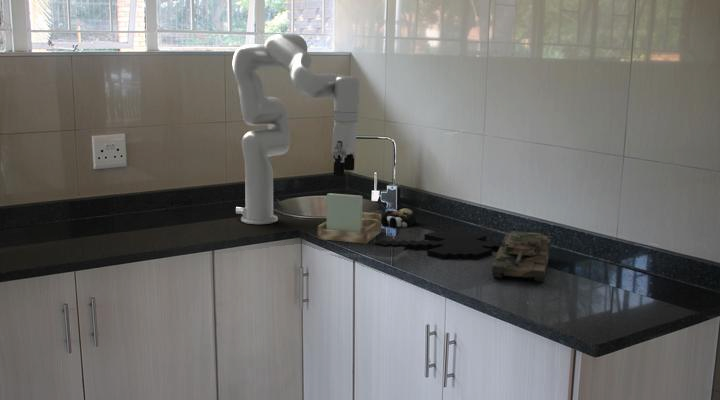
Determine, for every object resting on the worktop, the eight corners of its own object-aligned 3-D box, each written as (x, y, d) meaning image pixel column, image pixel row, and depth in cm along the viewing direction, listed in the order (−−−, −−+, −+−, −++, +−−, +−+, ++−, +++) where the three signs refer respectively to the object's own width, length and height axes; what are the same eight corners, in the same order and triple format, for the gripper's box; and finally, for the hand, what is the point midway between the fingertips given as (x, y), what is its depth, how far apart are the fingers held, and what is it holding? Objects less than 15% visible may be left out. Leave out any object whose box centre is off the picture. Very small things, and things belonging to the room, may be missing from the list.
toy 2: (487, 290, 210) (489, 252, 208) (504, 254, 245) (506, 222, 243) (540, 295, 206) (543, 257, 204) (549, 258, 241) (552, 225, 239)
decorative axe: (438, 225, 272) (515, 242, 252) (437, 231, 273) (515, 248, 253) (374, 242, 249) (454, 261, 229) (374, 249, 249) (453, 269, 230)
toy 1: (370, 215, 274) (393, 197, 285) (373, 235, 277) (395, 216, 288) (402, 220, 268) (424, 201, 278) (405, 241, 271) (426, 221, 282)
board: (326, 238, 256) (326, 194, 253) (328, 236, 257) (329, 193, 255) (359, 241, 252) (360, 197, 250) (361, 239, 254) (362, 195, 251)
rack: (317, 241, 255) (317, 219, 254) (334, 230, 270) (334, 209, 269) (366, 246, 250) (366, 224, 249) (380, 234, 265) (381, 213, 264)
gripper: (343, 113, 257) (341, 167, 260) (324, 119, 240) (322, 176, 244) (366, 115, 254) (364, 169, 258) (348, 121, 238) (346, 178, 242)
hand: (344, 172), depth 251 cm, fingers open, 9 cm apart
